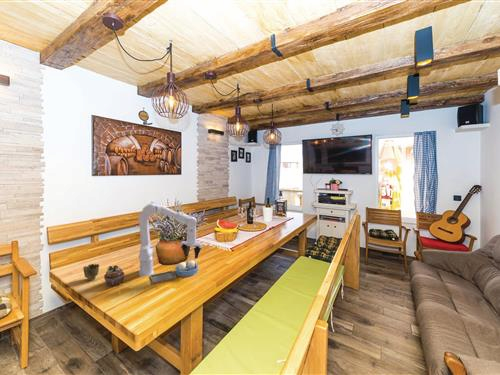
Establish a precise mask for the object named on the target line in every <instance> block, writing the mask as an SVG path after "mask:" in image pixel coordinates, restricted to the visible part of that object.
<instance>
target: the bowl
mask: <svg viewBox="0 0 500 375" xmlns="http://www.w3.org/2000/svg"><path fill="white" fill-rule="evenodd" d="M185 263H186V271H180V270H179V264H177V265H176V266H175V269H174V270H175V271H174V274H175V276H177V277H182V278H185V277H186V278H187V277H188V278H189V277H192V276H195V275H196V274H197V273H198V272H199V265H198V264H197V263H195V269H193V270H191V271H188V261H187V262H185Z"/></svg>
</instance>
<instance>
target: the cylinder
mask: <svg viewBox="0 0 500 375" xmlns="http://www.w3.org/2000/svg"><path fill="white" fill-rule="evenodd" d="M187 262H188V271H191V270H193V269H195V262H196V261H195V260H188V261H187Z"/></svg>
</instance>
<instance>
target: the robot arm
mask: <svg viewBox="0 0 500 375" xmlns="http://www.w3.org/2000/svg"><path fill="white" fill-rule="evenodd" d="M162 213H163V214H164V215H168V216H170V217H173V218H174V219H175V221H176V222H179V223H180V224H181V223H182V224H184V225H186V227H187V230H186V241H185V240H182V241H181V242H180V245H181V246H180V248H181V249H182V251H183V255H184V258H185V257H188V255H189V254H188V253H189V247H193V251H194V260H195V259H198V258H199V254H200V252H201V250H202V248H203V243H199V242H197V218H196V217H194V216H193V215H188V214H186V213H185V212H184V211H178V212H177V211H175V210H173V209H171V208H168V207H167V206H164V204H163V205H162V204H161V203H157V202H154V201H152V202H151V203H149V204H147V205H145V206H144V207H143V208H142V211H141V212H140V214H139V215H138V224H139V234H140V237H139V238H140V249H139V255H138V259H139V270H138V273H139V278H142V277H147V276H150V275H154V274H155V271H154V265H153V264H154V263H153V261H154V257H153V254H154V250H155V249H154V248H153V247H152V242H151V236H150V224H149V219H150V218H151V216H153V215H154V214H162Z"/></svg>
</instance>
